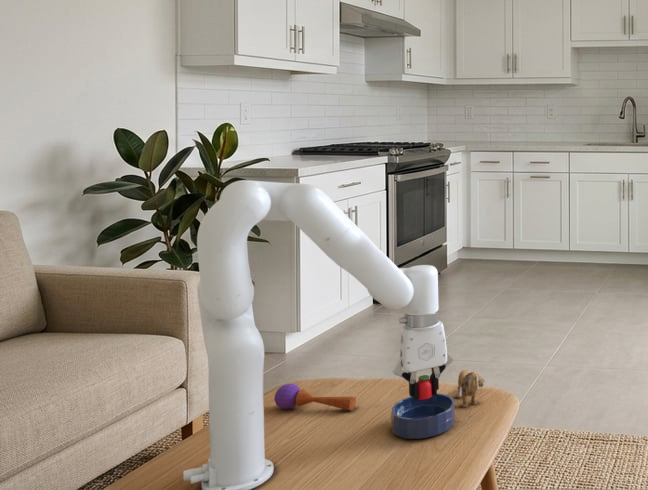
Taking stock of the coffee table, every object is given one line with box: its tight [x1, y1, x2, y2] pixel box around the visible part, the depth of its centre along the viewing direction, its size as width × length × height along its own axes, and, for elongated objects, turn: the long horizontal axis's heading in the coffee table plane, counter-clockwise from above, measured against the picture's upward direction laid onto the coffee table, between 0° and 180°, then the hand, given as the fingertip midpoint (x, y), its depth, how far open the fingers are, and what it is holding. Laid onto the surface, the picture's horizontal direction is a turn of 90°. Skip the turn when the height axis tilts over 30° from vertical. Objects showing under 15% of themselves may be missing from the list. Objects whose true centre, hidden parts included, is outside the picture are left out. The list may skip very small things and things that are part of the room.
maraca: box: [274, 383, 357, 412], centre depth 167 cm, size 6×6×20 cm
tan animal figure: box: [456, 369, 486, 408], centre depth 171 cm, size 15×5×9 cm, turn 33°
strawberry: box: [416, 374, 433, 400], centre depth 157 cm, size 4×4×5 cm
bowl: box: [390, 392, 456, 440], centre depth 157 cm, size 14×14×5 cm
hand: (424, 395), depth 157 cm, fingers closed on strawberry, 3 cm apart
